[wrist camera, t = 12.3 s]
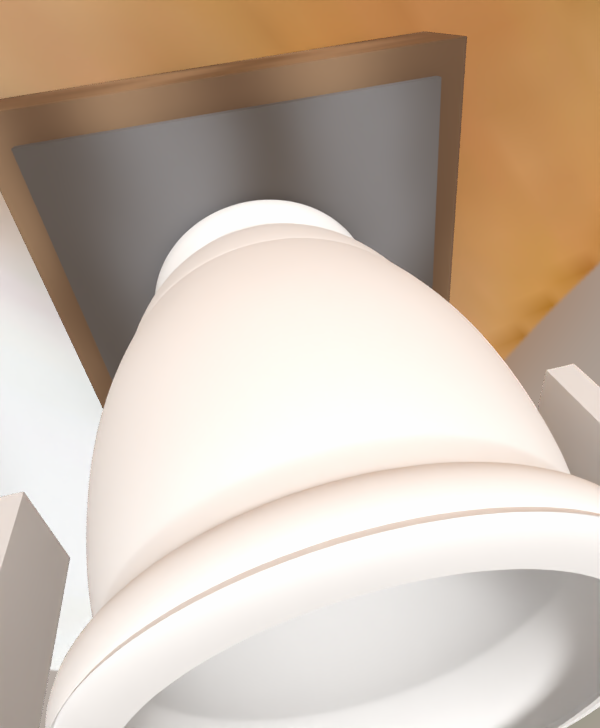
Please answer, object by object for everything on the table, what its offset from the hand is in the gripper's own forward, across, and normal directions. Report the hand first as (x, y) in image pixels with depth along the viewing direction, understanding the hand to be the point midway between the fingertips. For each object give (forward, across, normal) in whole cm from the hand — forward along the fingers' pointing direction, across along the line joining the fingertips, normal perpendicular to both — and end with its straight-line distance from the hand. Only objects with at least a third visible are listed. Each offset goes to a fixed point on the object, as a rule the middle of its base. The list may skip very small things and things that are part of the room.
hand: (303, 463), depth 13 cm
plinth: (+13, 0, 0) cm, 13 cm away
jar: (+9, 0, 0) cm, 9 cm away
